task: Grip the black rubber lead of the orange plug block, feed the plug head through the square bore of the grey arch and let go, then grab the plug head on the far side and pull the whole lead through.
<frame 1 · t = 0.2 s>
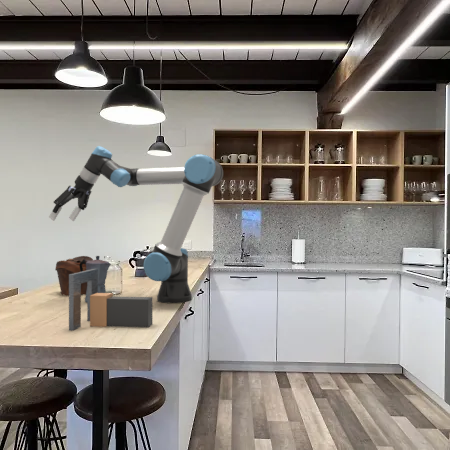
hand: (61, 219, 182), 36 cm above the countertop, tool tilted 35°, fingers open, 13 cm apart
plug: (101, 324, 137), on the countertop
case: (75, 293, 201), on the countertop
moka pot: (94, 302, 178), on the countertop
grey arch: (84, 323, 138), on the countertop
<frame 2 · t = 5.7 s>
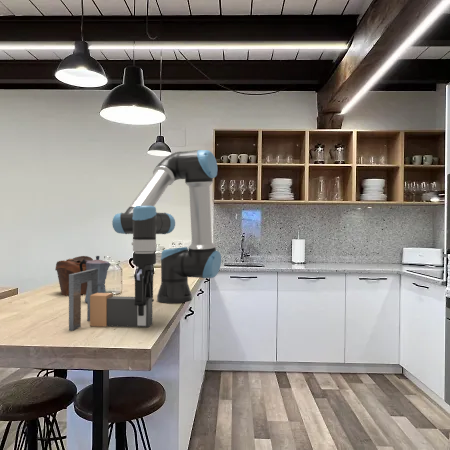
hand: (144, 323, 136), 1 cm above the countertop, tool pointing down, fingers closed on plug, 4 cm apart
plug: (101, 324, 137), on the countertop, touching gripper
everything else where it was.
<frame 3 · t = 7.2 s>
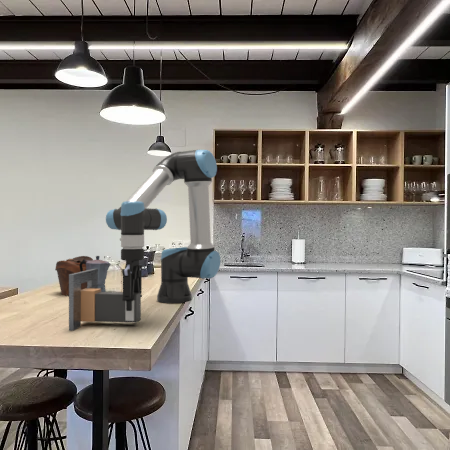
hand: (132, 318, 136), 2 cm above the countertop, tool pointing down, fingers closed on plug, 4 cm apart
plug: (89, 319, 138), point 1 cm above the countertop, touching gripper
everything else where it was.
when the fingers open (2 cm above the countertop, at t = 9.1 s): plug drops 1 cm, on the countertop.
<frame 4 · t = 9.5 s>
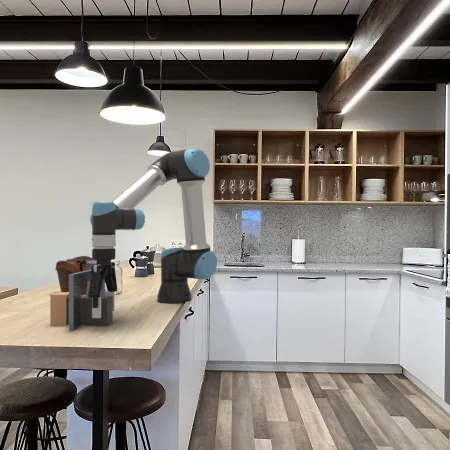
hand: (103, 314, 137), 3 cm above the countertop, tool pointing down, fingers open, 10 cm apart
plug: (62, 323, 139), on the countertop
everything else where it was.
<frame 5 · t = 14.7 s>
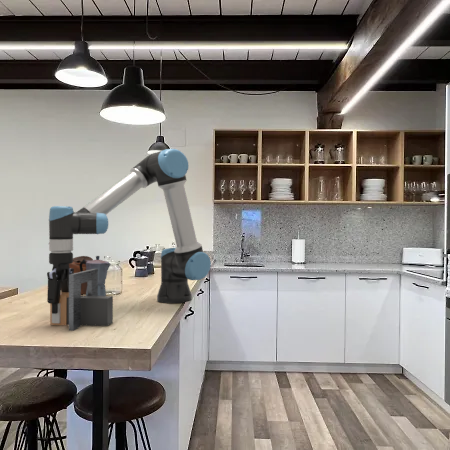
hand: (61, 320, 139), 1 cm above the countertop, tool pointing down, fingers closed on plug, 5 cm apart
plug: (62, 323, 139), on the countertop, touching gripper
everything else where it was.
when the fingers open (3 cm above the countertop, at t = 17.7 s): plug drops 2 cm, on the countertop.
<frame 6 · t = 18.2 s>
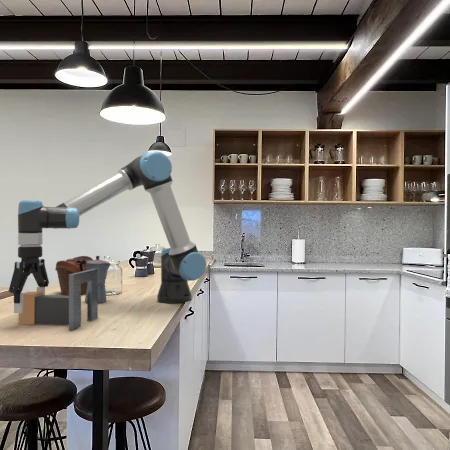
hand: (30, 309, 140), 4 cm above the countertop, tool pointing down, fingers open, 12 cm apart
plug: (31, 322, 140), on the countertop
everything else where it was.
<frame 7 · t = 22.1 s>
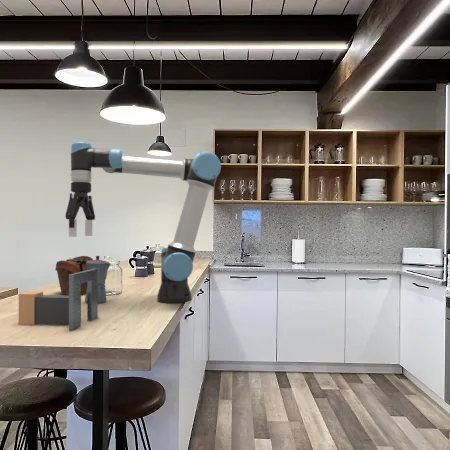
hand: (81, 236, 162), 29 cm above the countertop, tool pointing down, fingers open, 13 cm apart
nothing on the countertop moved.
at the end: plug inside the target area (0.4 cm from its centre), on the countertop; the gripper is holding nothing; plug touching countertop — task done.
